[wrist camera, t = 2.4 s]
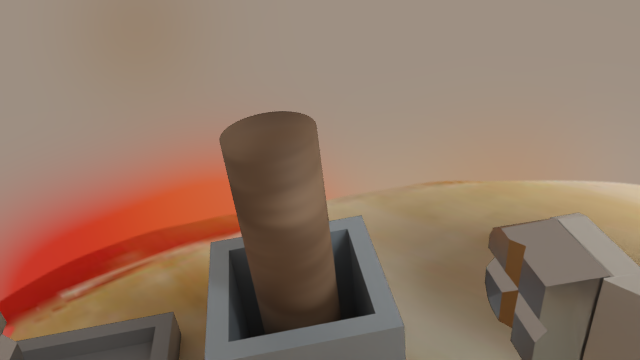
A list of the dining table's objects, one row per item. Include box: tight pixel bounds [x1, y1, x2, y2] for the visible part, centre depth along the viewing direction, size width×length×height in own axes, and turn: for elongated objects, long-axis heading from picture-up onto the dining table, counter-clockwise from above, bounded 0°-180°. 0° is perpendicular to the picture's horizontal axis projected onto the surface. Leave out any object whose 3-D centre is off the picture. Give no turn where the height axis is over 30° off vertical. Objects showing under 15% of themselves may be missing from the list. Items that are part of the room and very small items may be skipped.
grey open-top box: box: [205, 215, 406, 360], centre depth 28 cm, size 8×8×8 cm
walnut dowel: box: [220, 111, 341, 335], centre depth 26 cm, size 4×4×16 cm
